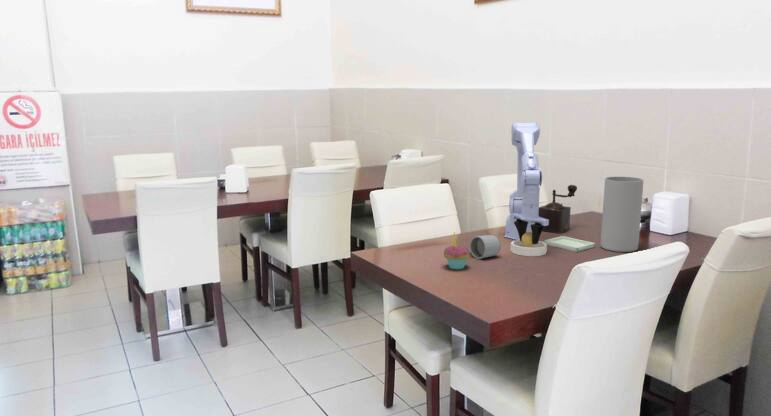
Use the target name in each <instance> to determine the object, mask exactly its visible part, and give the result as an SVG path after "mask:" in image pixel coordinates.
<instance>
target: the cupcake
mask: <svg viewBox="0 0 771 416" xmlns="http://www.w3.org/2000/svg"><path fill="white" fill-rule="evenodd" d="M452 236H453V245H449V246H447V247H446V248H445V249H444V250H443V256H444V258H445V259H446V262H447V264H448V267H449V268H450V269H452V270H462V269H464V268H465V265H466V263H467V261H468V259H469V258H470V257H471V253H470V251H469V249H468V248H467V247H465V246H464V245H460V244H457V240H456V239H457V237H456V233H455V231H453V235H452Z"/></svg>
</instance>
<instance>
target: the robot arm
mask: <svg viewBox="0 0 771 416" xmlns="http://www.w3.org/2000/svg"><path fill="white" fill-rule="evenodd" d="M510 130H511V145H512V146H514V147H515V148H516V151H517V180H516V181H517V183H516V185H517V186H516V187H517V189H516V190H515V191H513V192H512V193H511V194H510V195H509V203H508V211H509V212H508V213H510V214H509V215H508V216H507V217H506V220H505V235H503V237H504V238H507V239H511V240H514V241H515V240H520V241H522V236H523V234H525V233H527V232H531V233H532V243H533V244H538V241H540V237H541V234H542V233H543V232H544V231H543V229H544V228H545V226H547V225H549V220H548V219H544V218H542V217H539V216H538V214H539V207H540V194H541V193H540V192H541V191H540V189H541V188H540V187H542V184H543V173H542V171H543V170H542V169H541V167H540V166H539V165H540V164H539V157H538V155H537V154H536V153H535V146H536V145H537V143H538V140H539V138H540V133H541V126H540V123H539V122H537V121H536V122H514V121H513V122H512V125H511V129H510Z"/></svg>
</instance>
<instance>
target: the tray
mask: <svg viewBox="0 0 771 416" xmlns="http://www.w3.org/2000/svg"><path fill="white" fill-rule="evenodd" d="M543 242H544V243H546V244H547V246H550V247H553V248H554V247H555V248H557V249H558V248H559V249H562V250H567V251H570V252H573V253H579V252H582V251H583V252H584V251H586V250H591V249H594V248H596V243H595V242H592V241H588V240H587V241H586V240H581V239H578V238H573V237H569V236H564V235H561V236H557V237H553V238H548V239H545V240H544V241H543Z"/></svg>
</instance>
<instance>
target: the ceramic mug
mask: <svg viewBox="0 0 771 416" xmlns="http://www.w3.org/2000/svg"><path fill="white" fill-rule="evenodd" d="M469 244H470V245H469V249H468V250H469V251H470V254H471V255H472V257H474V258H475V259H477V260H479V259H487V258H491V257H494V256H497V255H498V254H499V253H500V252H501V249H502V248H501V247H502V245H501V241H500V239H499V237H497V236H495V235H493V234H492V235H491V234H490V235H475V236H474V237H473V238H472V239H471V241H470V243H469Z"/></svg>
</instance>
